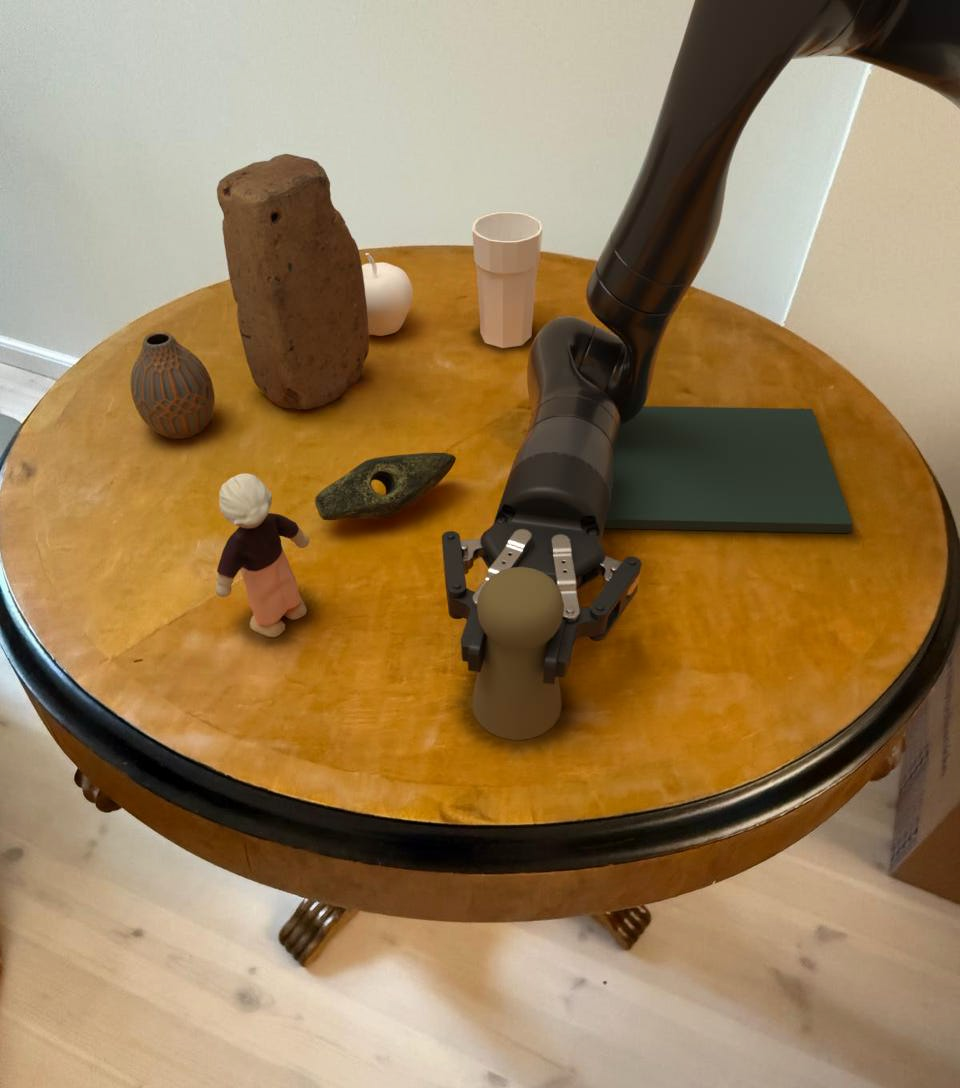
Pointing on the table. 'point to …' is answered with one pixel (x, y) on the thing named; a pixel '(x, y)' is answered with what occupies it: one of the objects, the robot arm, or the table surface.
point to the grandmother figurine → (259, 554)
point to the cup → (506, 275)
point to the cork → (517, 654)
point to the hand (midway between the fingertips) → (511, 668)
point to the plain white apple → (386, 297)
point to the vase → (171, 388)
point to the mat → (725, 472)
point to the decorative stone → (400, 478)
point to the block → (294, 281)
